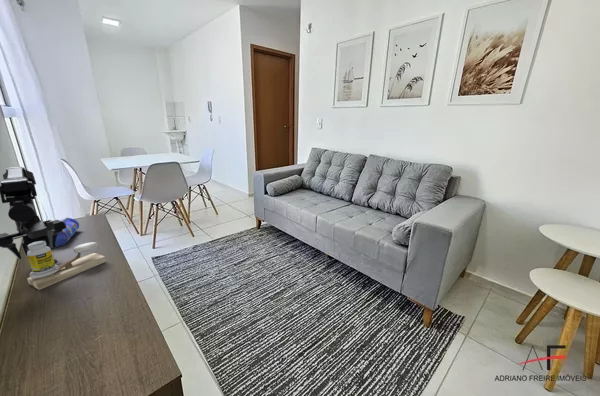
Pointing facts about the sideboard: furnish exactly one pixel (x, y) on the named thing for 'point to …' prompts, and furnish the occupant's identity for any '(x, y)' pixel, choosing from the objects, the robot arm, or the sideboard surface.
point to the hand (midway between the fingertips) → (37, 253)
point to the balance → (68, 267)
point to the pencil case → (67, 231)
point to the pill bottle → (40, 257)
